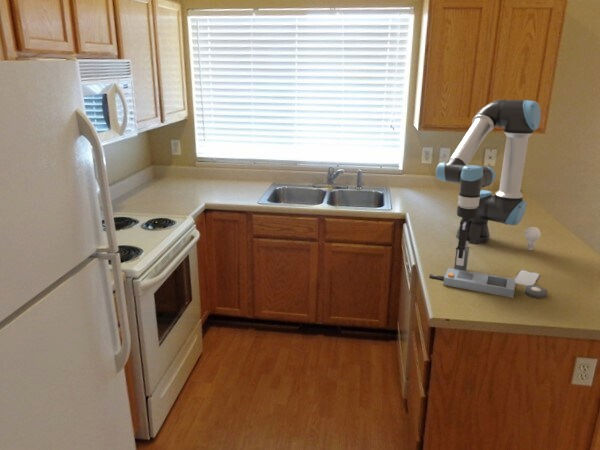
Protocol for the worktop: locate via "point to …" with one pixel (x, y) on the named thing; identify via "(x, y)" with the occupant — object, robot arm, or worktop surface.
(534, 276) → the smartphone
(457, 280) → the power strip
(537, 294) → the grey disc with dome
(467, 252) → the brick
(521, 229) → the worktop surface
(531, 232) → the lightbulb
